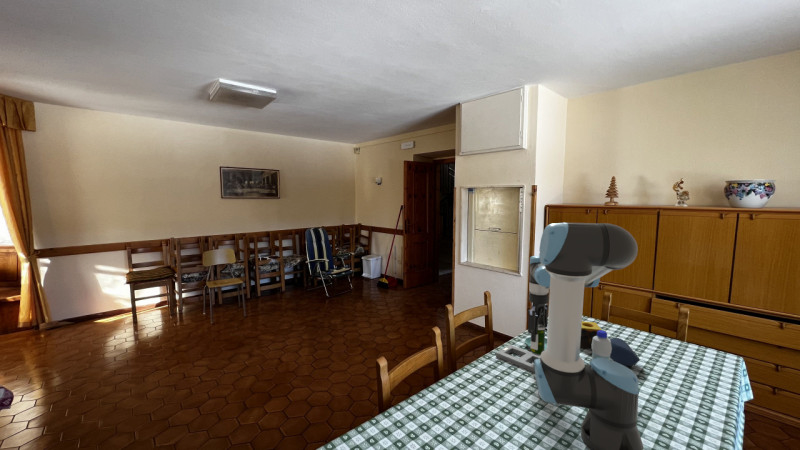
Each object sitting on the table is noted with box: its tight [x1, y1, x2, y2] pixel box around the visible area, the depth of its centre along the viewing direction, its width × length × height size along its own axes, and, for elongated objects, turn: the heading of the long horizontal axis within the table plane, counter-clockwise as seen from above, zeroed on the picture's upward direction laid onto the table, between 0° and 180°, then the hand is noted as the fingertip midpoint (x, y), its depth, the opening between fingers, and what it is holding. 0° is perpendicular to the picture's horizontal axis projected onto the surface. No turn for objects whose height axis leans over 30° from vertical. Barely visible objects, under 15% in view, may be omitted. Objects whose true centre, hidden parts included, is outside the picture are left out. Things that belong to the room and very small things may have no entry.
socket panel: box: [495, 344, 541, 374], centre depth 139 cm, size 12×22×2 cm, turn 41°
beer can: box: [530, 324, 546, 356], centre depth 134 cm, size 5×5×12 cm
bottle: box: [591, 329, 612, 360], centre depth 123 cm, size 7×7×20 cm
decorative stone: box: [609, 337, 641, 367], centre depth 136 cm, size 12×12×10 cm
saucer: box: [524, 336, 547, 350], centre depth 152 cm, size 15×15×3 cm
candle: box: [580, 320, 602, 350], centre depth 155 cm, size 10×10×10 cm
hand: (537, 346), depth 134 cm, fingers closed on beer can, 5 cm apart
